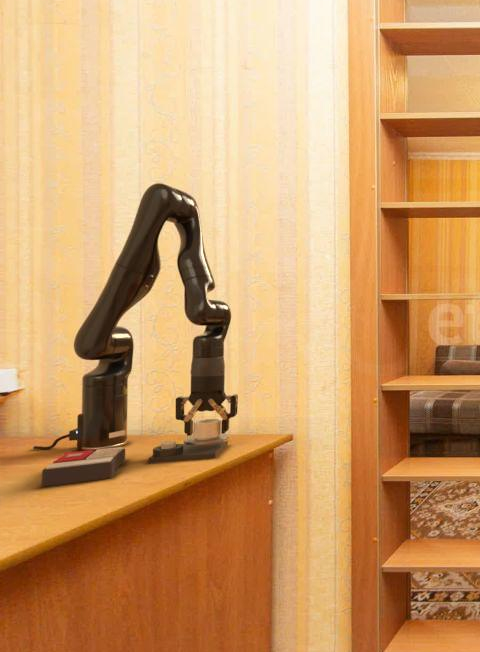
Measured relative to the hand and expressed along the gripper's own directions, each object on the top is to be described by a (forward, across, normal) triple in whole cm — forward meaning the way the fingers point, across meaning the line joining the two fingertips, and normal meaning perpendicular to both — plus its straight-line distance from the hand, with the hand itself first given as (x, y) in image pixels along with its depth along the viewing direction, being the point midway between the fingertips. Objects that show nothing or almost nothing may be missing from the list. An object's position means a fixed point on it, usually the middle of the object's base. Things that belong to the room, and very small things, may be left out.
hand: (206, 433), depth 118 cm
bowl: (+1, 0, 0) cm, 1 cm away
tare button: (+2, +7, +5) cm, 9 cm away
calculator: (+5, +20, +12) cm, 24 cm away
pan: (+2, 0, 0) cm, 2 cm away
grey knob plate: (+5, +3, +2) cm, 6 cm away
